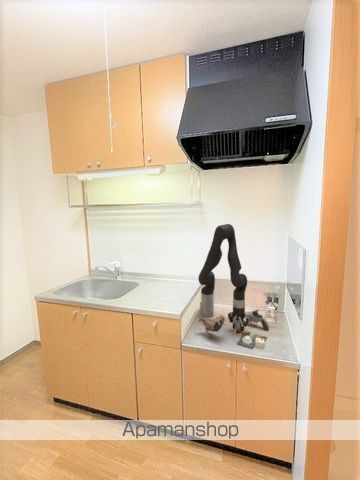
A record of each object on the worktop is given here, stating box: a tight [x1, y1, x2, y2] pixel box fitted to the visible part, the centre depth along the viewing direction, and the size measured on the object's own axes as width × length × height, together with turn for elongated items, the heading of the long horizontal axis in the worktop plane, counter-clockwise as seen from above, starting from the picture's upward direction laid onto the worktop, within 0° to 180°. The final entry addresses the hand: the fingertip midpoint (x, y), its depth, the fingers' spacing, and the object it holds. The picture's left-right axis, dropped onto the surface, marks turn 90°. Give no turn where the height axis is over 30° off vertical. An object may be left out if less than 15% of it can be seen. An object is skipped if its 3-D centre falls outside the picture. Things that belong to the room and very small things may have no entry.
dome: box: [242, 336, 252, 345], centre depth 143 cm, size 5×5×5 cm
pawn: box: [235, 320, 242, 333], centre depth 154 cm, size 4×4×9 cm
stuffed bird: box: [197, 314, 226, 340], centre depth 149 cm, size 10×20×17 cm, turn 65°
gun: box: [227, 308, 270, 332], centre depth 165 cm, size 5×27×15 cm, turn 51°
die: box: [254, 338, 265, 350], centre depth 140 cm, size 4×4×5 cm
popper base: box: [236, 335, 256, 350], centre depth 143 cm, size 9×9×2 cm
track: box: [232, 329, 269, 343], centre depth 151 cm, size 20×6×1 cm, turn 57°
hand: (238, 329), depth 155 cm, fingers open, 4 cm apart
